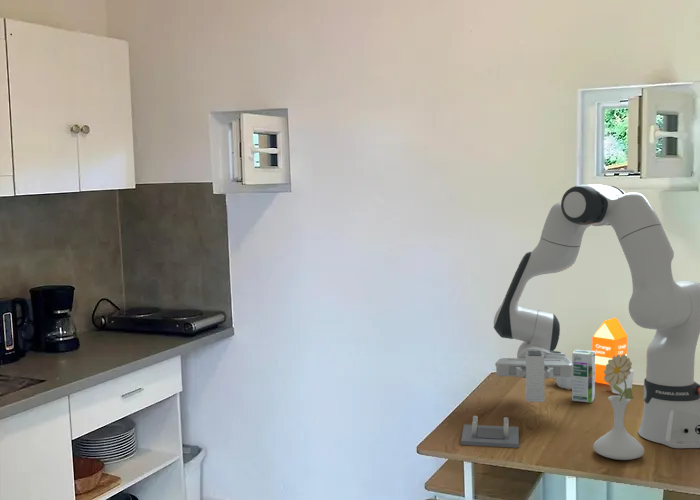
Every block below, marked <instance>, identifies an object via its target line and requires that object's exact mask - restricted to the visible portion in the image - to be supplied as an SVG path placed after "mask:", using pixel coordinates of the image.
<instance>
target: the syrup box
mask: <svg viewBox="0 0 700 500" xmlns="http://www.w3.org/2000/svg"><path fill="white" fill-rule="evenodd" d="M571 356H572V357H571V361H572V363H573V377H572V390H571V401H572V402H582V403H588V404H592V403H593V401H594V399H595V397H596V395H595V394H596V392H595V391H596V382H595V351H592V350H586V349H585V350H583V349H575V350H573V352H572V355H571Z"/></svg>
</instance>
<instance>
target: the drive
mask: <svg viewBox="0 0 700 500" xmlns="http://www.w3.org/2000/svg"><path fill="white" fill-rule="evenodd" d="M545 392H546V390H545V378H544V352H543V351H526V378H525V401H526V402H527V403H528V402H531V403H534V402H536V403H545V399H546V398H545Z"/></svg>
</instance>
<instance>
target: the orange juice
mask: <svg viewBox="0 0 700 500" xmlns="http://www.w3.org/2000/svg"><path fill="white" fill-rule="evenodd" d="M591 339H592V340H591V342H592V343H591V345H592V346H591V351H595V383H597V384H604V385H608V386H609V384H608V383H609V382H608V383H606V382H605V380H604V376H605V375H606V374H604V371H605V368H606V365H607V364H608V360H610V359H611V360H612V358H613V356H617V355H618V354H619V355H620V357H621V355H623V354H625V356H627V357H628V335H627V333H626V331H625V330H624V328H623V326H622V324H621V323H620V321H619V320H618V318H617V317H613V318H610V319H606V320H604V321H603V322H602V324H601V325H600V326H599V327H598V329H597V330H596V332H595V333H594V334H593V336H592V338H591Z"/></svg>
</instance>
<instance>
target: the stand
mask: <svg viewBox="0 0 700 500" xmlns="http://www.w3.org/2000/svg"><path fill="white" fill-rule="evenodd" d="M478 418H479V417H478V416H477V415H472V422H471V424H465V423H464V424H463V427H462V434H461V439H460V446H476V447H478V446H479V447H495V448H496V447H499V448H515V449H519V448H520V436H519V433H520V431H519V426H509V424H510V423H509V422H510V421H509V417H508V416H505V417H503V425H484V424H478V423H479V422H478V421H479V420H478Z"/></svg>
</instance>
